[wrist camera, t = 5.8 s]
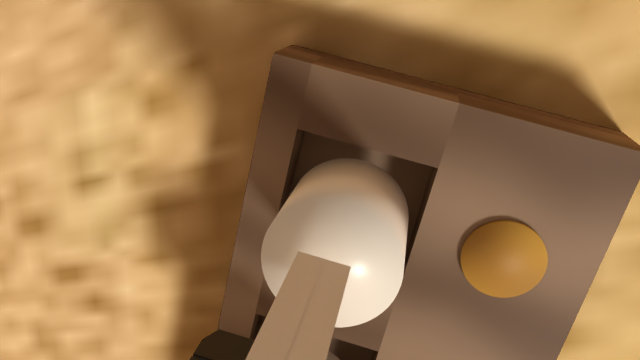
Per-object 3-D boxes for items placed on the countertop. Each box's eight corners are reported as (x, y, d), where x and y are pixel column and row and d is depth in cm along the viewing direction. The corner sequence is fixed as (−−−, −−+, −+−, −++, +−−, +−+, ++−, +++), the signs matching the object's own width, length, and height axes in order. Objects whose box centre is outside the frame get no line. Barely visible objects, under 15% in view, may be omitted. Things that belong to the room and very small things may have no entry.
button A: (304, 143, 21) (276, 178, 17) (423, 177, 20) (422, 220, 17) (279, 250, 22) (248, 303, 19) (390, 283, 22) (381, 344, 18)
